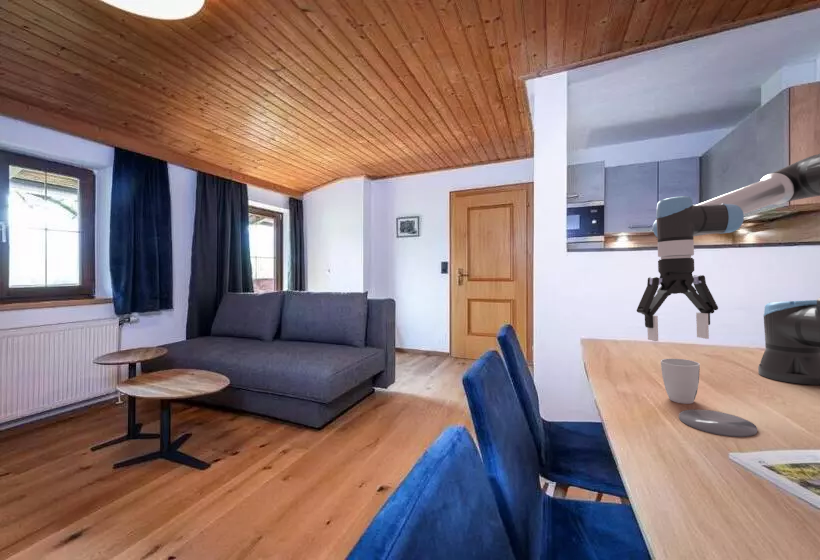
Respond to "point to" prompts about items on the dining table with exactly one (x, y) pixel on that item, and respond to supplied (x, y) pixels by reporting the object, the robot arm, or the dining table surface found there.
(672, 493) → the dining table surface
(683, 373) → the cup
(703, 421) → the coaster
